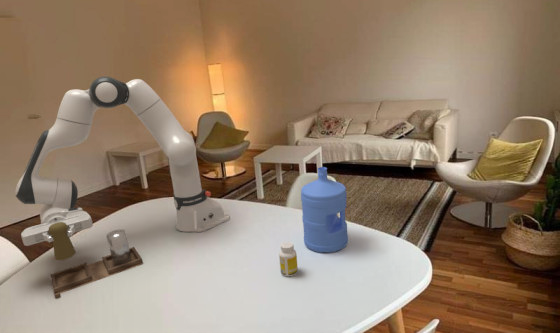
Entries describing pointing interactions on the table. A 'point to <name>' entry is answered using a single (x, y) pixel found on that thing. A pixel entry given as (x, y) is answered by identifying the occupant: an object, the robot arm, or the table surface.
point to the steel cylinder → (119, 247)
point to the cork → (61, 241)
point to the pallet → (90, 272)
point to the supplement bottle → (288, 259)
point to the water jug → (324, 214)
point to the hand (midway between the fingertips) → (60, 237)
